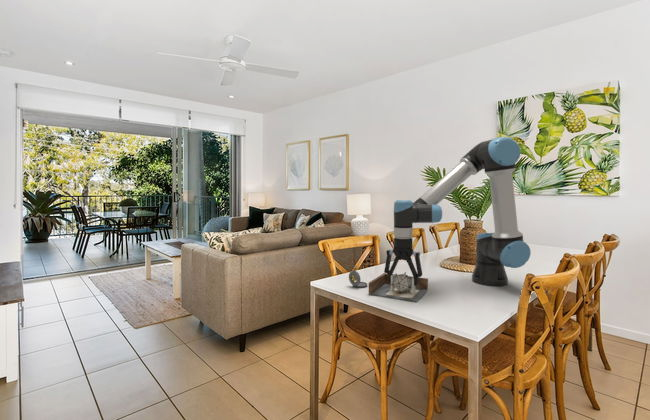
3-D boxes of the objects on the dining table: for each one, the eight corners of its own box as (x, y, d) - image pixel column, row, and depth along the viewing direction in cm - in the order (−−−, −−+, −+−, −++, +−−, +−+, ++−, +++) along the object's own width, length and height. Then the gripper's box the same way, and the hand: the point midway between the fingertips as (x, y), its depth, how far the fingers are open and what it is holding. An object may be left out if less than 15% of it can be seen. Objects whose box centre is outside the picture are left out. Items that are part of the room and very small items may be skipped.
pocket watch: (368, 284, 155) (368, 262, 154) (365, 289, 147) (365, 267, 146) (350, 283, 157) (350, 262, 157) (347, 288, 149) (347, 266, 149)
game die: (407, 301, 139) (417, 286, 133) (387, 294, 140) (396, 278, 134) (408, 286, 147) (417, 271, 141) (389, 279, 147) (398, 263, 141)
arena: (427, 290, 145) (428, 278, 145) (416, 302, 130) (416, 289, 129) (383, 284, 155) (383, 273, 155) (368, 294, 140) (368, 282, 139)
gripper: (431, 237, 137) (430, 292, 139) (382, 234, 148) (382, 285, 149) (426, 240, 131) (426, 297, 132) (375, 237, 141) (376, 290, 143)
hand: (402, 291), depth 141 cm, fingers closed on game die, 8 cm apart
